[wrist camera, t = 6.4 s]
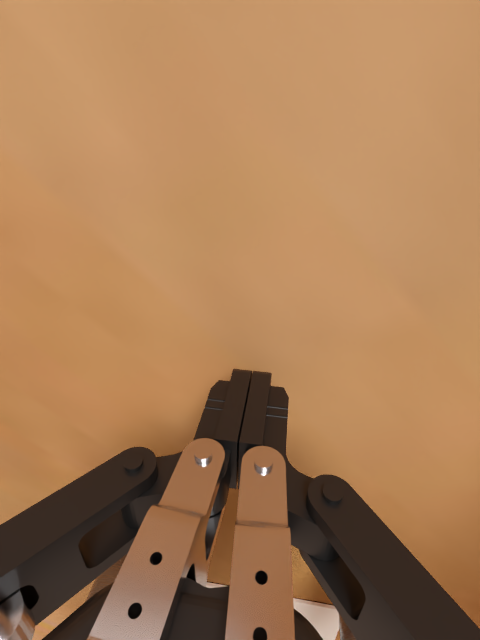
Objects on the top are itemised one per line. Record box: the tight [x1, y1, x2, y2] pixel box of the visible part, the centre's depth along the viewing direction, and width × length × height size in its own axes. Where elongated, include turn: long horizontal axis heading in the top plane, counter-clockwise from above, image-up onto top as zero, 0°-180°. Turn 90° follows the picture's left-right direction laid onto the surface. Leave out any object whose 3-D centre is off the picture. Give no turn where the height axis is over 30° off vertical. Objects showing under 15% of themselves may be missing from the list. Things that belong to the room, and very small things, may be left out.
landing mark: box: [206, 582, 339, 640], centre depth 29 cm, size 14×14×1 cm
